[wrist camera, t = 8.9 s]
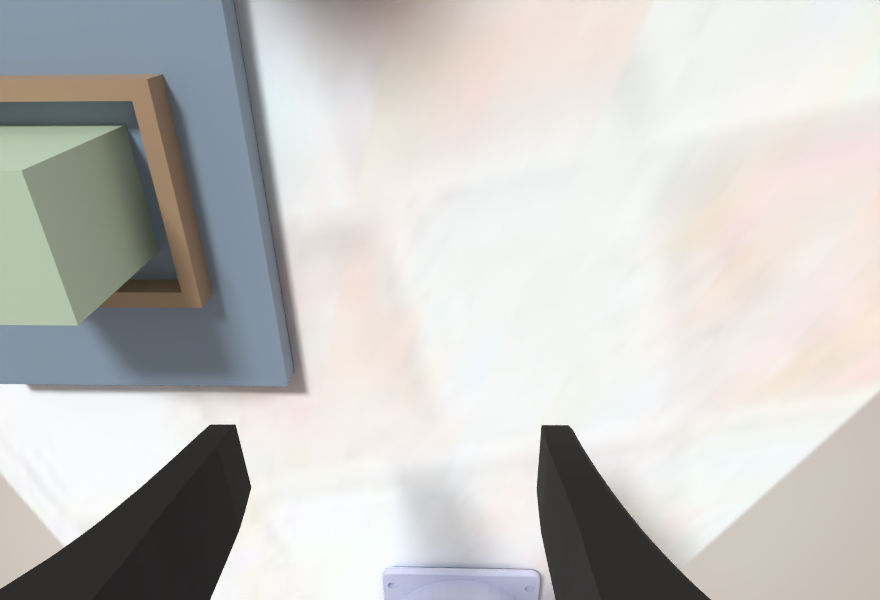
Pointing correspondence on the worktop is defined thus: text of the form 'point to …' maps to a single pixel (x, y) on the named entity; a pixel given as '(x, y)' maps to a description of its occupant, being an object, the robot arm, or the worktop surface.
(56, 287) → the sage block
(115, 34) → the board
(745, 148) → the worktop surface
